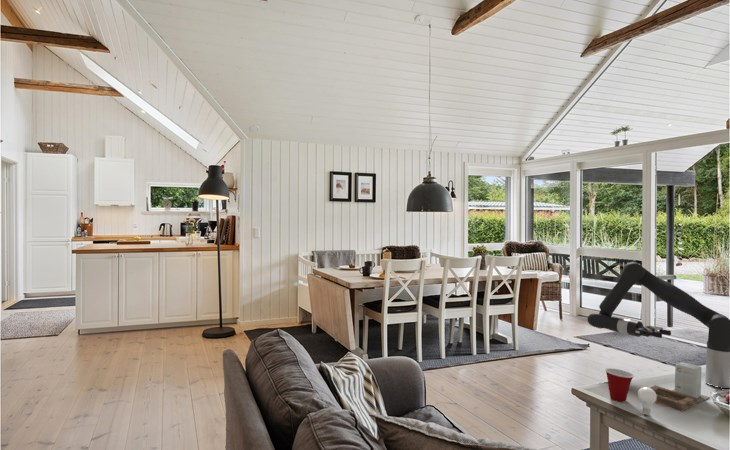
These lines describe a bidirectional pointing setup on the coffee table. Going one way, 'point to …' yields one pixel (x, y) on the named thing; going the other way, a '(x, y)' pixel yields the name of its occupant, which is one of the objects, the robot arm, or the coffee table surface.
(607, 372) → the plastic cup
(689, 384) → the small box
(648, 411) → the lightbulb
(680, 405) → the holder
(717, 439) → the coffee table surface
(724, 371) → the robot arm
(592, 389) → the coffee table surface
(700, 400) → the mat
